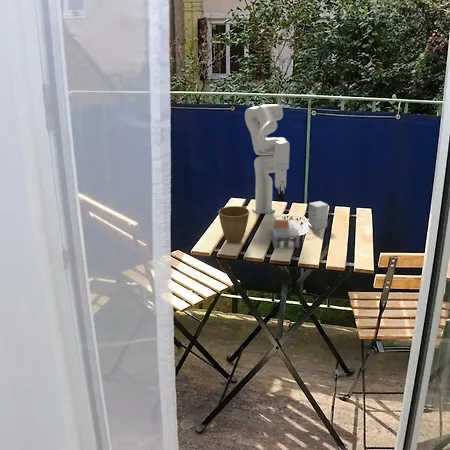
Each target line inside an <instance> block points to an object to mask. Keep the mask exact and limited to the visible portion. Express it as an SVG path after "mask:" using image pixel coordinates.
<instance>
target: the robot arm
mask: <svg viewBox="0 0 450 450" xmlns="http://www.w3.org/2000/svg"><path fill="white" fill-rule="evenodd" d="M283 117H284V110H283V107H282V106H281V105H280V104H278V103H277V104H276V103H275V104H272V103H271V104H261V105H259V106H251V107H249V108H246V110H245V112H244V120H245V121H244V122H245V123H246V127H247V128H248V131H249V132H250V136H251V141H252V142H251V143H252V146H253V151H254V153H255V154H256V156H257V155H258V157H256V158H255V159H254V162H253V167H254V174H255V205H254V206H253V207H252V211H253V212H255V213H256V214H270V213H269V212H271V213H274V212H275V210H276V209H275V207H274V206H273V185H275V188H276V190H277V191H276V198H277V201H278V202H284V201H285V189H287V170H288V169H289V168H290V149H291V148H290V142H289V141H288V140H287V139H286V138H285V137H268V135H270V134H272V133H274V132H275V131H276V130H277V128H278V122H277V121H280V120H281V119H283ZM272 173H274V184H273V178H272V177H271V176H270V175H269V174H272ZM273 211H274V212H273Z"/></svg>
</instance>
